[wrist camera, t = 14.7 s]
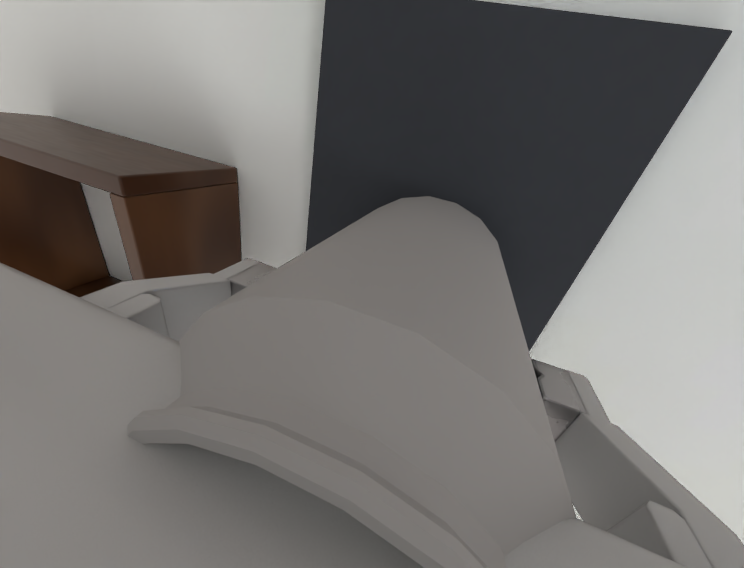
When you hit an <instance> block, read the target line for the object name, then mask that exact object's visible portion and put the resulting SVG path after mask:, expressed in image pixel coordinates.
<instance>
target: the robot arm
mask: <svg viewBox="0 0 744 568" xmlns="http://www.w3.org/2000/svg"><path fill="white" fill-rule="evenodd" d="M276 269H277V268H275V267H272V266H269V265H267V264H264V263H261V262H259V261H256V260H253V259H245V260H242V261H240V262H238V263H236V264H234V265H232V266H230V267H227V268H225V269H223V270H221V271H219V272H217V273H215V274H211V273H202V274H192V275H182V276H172V277H162V278H152V279H142V280H131V281H123V282H120V283H117V284H114V285H112V286H109V287H106V288H104V289H101V290H98V291H96V292H93V293H90V294H88V295H85V296H82V297H80V298H79V297H77V296H75V295H73V294H70V293H68V292H66V291H64V290H61V289H59V288H57V287H55V286H52V285H50V284H48V283H46V282H43V281H41V280H39V279H37V278H34V277H32V276H30V275H28V274H25V273H23V272H21V271H19V270H16V269H14V268H12V267H10V266H7V265H5V264H3V263H1V262H0V568H424V567H423V566H421V565H420V564H418V563H417V562H416V561H414V560H413V559H411V558H410V557H409V556H407V555H406V554H404V553H403V552H402V551H400V550H399V549H397V548H396V547H395V546H393V545H392V544H390V543H389V542H387V541H386V540H385V539H383V538H382V537H380V536H379V535H378V534H376V533H375V532H373V531H372V530H371V529H369V528H368V527H366V526H365V525H364V524H362V523H361V522H359V521H358V520H357V519H355V518H354V517H352V516H351V515H350V514H348V513H347V512H345V511H344V510H342V509H340V508H338V507H336V506H334V505H333V504H331V503H329V502H327V501H325V500H323V499H321V498H319V497H317V496H315V495H313V494H311V493H309V492H307V491H305V490H303V489H301V488H300V487H298V486H296V485H294V484H292V483H290V482H288V481H286V480H284V479H282V478H280V477H278V476H276V475H274V474H272V473H270V472H268V471H266V470H265V469H263V468H261V467H259V466H257V465H254V464H251V463H248V462H244V461H241V460H238V459H235V458H232V457H228V456H225V455H222V454H219V453H216V452H212V451H209V450H206V449H203V448H200V447H196V446H193V445H190V444H168V443H148V444H142V443H140V442H138V441H136V440H134V439H133V438H131V437H129V436H127V429H128V424H129V423H130V422H131V421H132V420H133V419H134V418H135V417H136V416H137V415H138V414H140V413H141V412H142V411H147V410H158V409H165V408H166V407H168V406H169V405H170V404H171V403H173V402H174V401H175V400H176V399H178V398H179V397H180V393H181V347H180V343H179V340H180V339H181V338H182V337H183V336H184V335H185V333H186V332H187V331H188V330H189V329H190V328H191V326H192V325H193V324H194V323H195V322H196V320H197V319H198V318H199V317H200V316H201V315H202V313H204V312H206V311H207V310H209V309H211V308H212V307H214V306H216V305H217V304H219V303H221V302H222V301H224V300H226V299H227V298H229V297H231V296H232V295H234V294H236V293H237V292H239V291H241V290H242V289H244V288H246V287H247V286H249V285H251V284H252V283H254V282H256V281H257V280H259V279H261V278H262V277H264V276H266V275H267V274H269V273H271V272H272V271H274V270H276ZM531 361H532V364H533V368H534V371H535V375H536V378H537V382H538V385H539V389H540V392H541V396H542V399H543V403H544V406H545V410H546V413H547V417H548V420H549V424H550V427H551V431H552V434H553V438H554V441H555V445H556V448H557V452H558V455H559V459H560V462H561V466H562V470H563V473H564V477H565V480H566V484H567V487H568V491H569V494H570V498H571V501H572V503H573V505H574V507H575V508H576V510H577V511H578V513H579V515H580V516H581V518H582V519H583V521H582V520H580V519H577V518H571V519H567V520H564V521H561V522H560V523H558V524H556V525H554V526H552V527H551V528H549V529H547V530H545V531H543V532H541V533H540V534H538V535H536V536H534V537H532V538H531V539H529V540H527V541H525V542H523V543H522V544H521V545H519V546H518V547H517V548H515V549H514V550H513V551H512V552H510V553H509V554H508V555H506V556H505V564H506V568H744V545H743V544H742V542H741V541H740V539H739V538H738V536H737V535H736V534H735V533H734V532H733V531H732V530H731V529H730V528H728V527H727V526H726V525H725V524H724V523H723V522H722V521H721V520H720V519H719V518H718V517H716V516H715V515H714V514H713V513H712V512H711V511H710V510H709V509H708V508H707V507H705V506H704V505H703V504H702V503H701V502H700V501H699V500H698V499H697V498H696V497H695V496H693V495H692V494H691V493H690V492H689V491H688V490H687V489H686V488H685V487H684V486H683V485H681V484H680V483H679V482H678V481H677V480H676V479H675V478H674V477H673V476H672V475H671V474H669V473H668V472H667V471H666V470H665V469H664V468H663V467H662V466H661V465H660V464H659V463H657V462H656V461H655V460H654V459H653V458H652V457H651V456H650V455H649V454H648V453H647V452H645V451H644V450H643V449H642V448H641V447H640V446H639V445H638V444H637V443H636V442H635V441H633V440H632V439H631V438H630V437H629V436H628V435H627V434H626V433H625V432H624V431H622V430H621V429H620V428H619V427H618V426H616V425H614V424H611V423H610V421H609V419H608V417H607V415H606V413H605V411H604V409H603V407H602V405H601V403H600V401H599V399H598V397H597V396H596V394H595V392H594V390H593V388H592V386H591V384H590V382H589V380H588V379H587V378H586V377H585V376H584V375H580V374H577V373H574V372H571V371H568V370H565V369H561V368H558V367H555V366H552V365H549V364H546V363H543V362H540V361H537V360H534V359H531Z"/></svg>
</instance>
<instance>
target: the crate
mask: <svg viewBox="0 0 744 568" xmlns="http://www.w3.org/2000/svg"><path fill="white" fill-rule="evenodd" d="M80 182H81V183H84V184H87V185H90V186H93V187H96V188H99V189H102V190H105V191H108V192H111V193H110V198H111V201H112V205H113V209H114V212H115V216H116V220H117V223H118V227H119V231H120V235H121V238H122V242H123V246H124V249H125V253H126V257H127V260H128V264H129V268H130V271H131V275H132V279H133V280H142V279H152V278H162V277H172V276H182V275H192V274H202V273H211V274H215V273H217V272H219V271H221V270H223V269H225V268H227V267H230V266H232V265H234V264H236V263H238V262H240V261H241V241H240V219H239V198H238V183H237V169H236V168H235V167H231V166H228V165H224V164H220V163H217V162H213V161H210V160H206V159H202V158H199V157H195V156H192V155H188V154H184V153H181V152H177V151H174V150H170V149H166V148H163V147H159V146H156V145H152V144H148V143H145V142H141V141H138V140H134V139H130V138H127V137H123V136H120V135H116V134H112V133H109V132H105V131H102V130H98V129H94V128H91V127H87V126H84V125H80V124H76V123H73V122H69V121H66V120H62V119H58V118H55V117H51V116H41V115H29V114H17V113H5V112H0V262H1V263H3V264H5V265H7V266H10V267H12V268H14V269H16V270H19V271H21V272H23V273H25V274H28V275H30V276H32V277H34V278H37V279H39V280H41V281H43V282H46V283H48V284H50V285H52V286H55V287H57V288H59V289H61V290H64V291H66V292H68V293H70V294H73V295H75V296H77V297H79V298H80V297H82V296H85V295H88V294H90V293H93V292H96V291H98V290H101V289H104V288H106V287H109V286H112V285H114V284H117V283H120V282H123V281H120V280H118V279H115V278H113V277H110V276H109V274H108V271H107V267H106V264H105V261H104V258H103V255H102V252H101V248H100V245H99V242H98V239H97V236H96V233H95V230H94V226H93V223H92V220H91V217H90V214H89V211H88V207H87V204H86V201H85V198H84V195H83V192H82V189H81V185H80Z"/></svg>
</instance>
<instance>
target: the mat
mask: <svg viewBox="0 0 744 568" xmlns="http://www.w3.org/2000/svg"><path fill="white" fill-rule="evenodd" d="M731 33H732V31H731V30H723V29H714V28H706V27H697V26H689V25H680V24H671V23H663V22H654V21H646V20H637V19H629V18H620V17H612V16H603V15H595V14H586V13H578V12H569V11H561V10H552V9H544V8H535V7H527V6H518V5H509V4H501V3H492V2H484V1H475V0H326V3H325V15H324V28H323V41H322V53H321V66H320V78H319V91H318V104H317V116H316V129H315V142H314V154H313V167H312V179H311V192H310V205H309V217H308V230H307V243H306V251H307V250H309V249H311V248H312V247H314V246H316V245H317V244H319V243H321V242H322V241H324V240H326V239H327V238H329V237H331V236H332V235H334V234H336V233H337V232H339V231H341V230H342V229H344V228H346V227H347V226H349V225H351V224H352V223H354V222H356V221H357V220H359V219H361V218H362V217H364V216H366V215H367V214H369V213H371V212H372V211H374V210H376V209H377V208H379V207H382V206H384V205H386V204H389V203H391V202H394V201H396V200H398V199H401V198H410V197H423V196H431V197H434V198H438V199H442V200H446V201H450V202H454V203H457V204H459V205H460V206H462V207H463V208H465V209H466V210H468V211H469V212H471V213H472V214H474V215H475V216H477V217H478V218H480V219H481V220H482V222H483V223H484V224H485V226H486V227H487V228H488V230H489V231H490V232H491V234H492V235H493V236H494V238H495V239H496V240H497V242H498V245H499V249H500V252H501V256H502V259H503V263H504V266H505V270H506V273H507V277H508V280H509V284H510V287H511V291H512V294H513V298H514V301H515V305H516V308H517V312H518V315H519V319H520V322H521V326H522V329H523V333H524V336H525V340H526V343H527V347H528V350H529V351H530V349H531V348H532V346H533V344H534V343H535V341H536V340H537V338H538V337H539V335H540V333H541V332H542V330H543V329H544V327H545V326H546V324H547V322H548V321H549V319H550V318H551V316H552V315H553V313H554V311H555V310H556V308H557V307H558V305H559V304H560V302H561V300H562V299H563V297H564V296H565V294H566V293H567V291H568V289H569V288H570V286H571V285H572V283H573V282H574V280H575V278H576V277H577V275H578V274H579V272H580V271H581V269H582V267H583V266H584V264H585V263H586V261H587V259H588V258H589V256H590V255H591V253H592V252H593V250H594V248H595V247H596V245H597V244H598V242H599V241H600V239H601V237H602V236H603V234H604V233H605V231H606V230H607V228H608V226H609V225H610V223H611V222H612V220H613V219H614V217H615V215H616V214H617V212H618V211H619V209H620V208H621V206H622V204H623V203H624V201H625V200H626V198H627V197H628V195H629V193H630V192H631V190H632V189H633V187H634V186H635V184H636V182H637V181H638V179H639V178H640V176H641V175H642V173H643V171H644V170H645V168H646V167H647V165H648V164H649V162H650V160H651V159H652V157H653V156H654V154H655V153H656V151H657V149H658V148H659V146H660V145H661V143H662V142H663V140H664V138H665V137H666V135H667V134H668V132H669V131H670V129H671V127H672V126H673V124H674V123H675V121H676V119H677V118H678V116H679V115H680V113H681V112H682V110H683V108H684V107H685V105H686V104H687V102H688V101H689V99H690V97H691V96H692V94H693V93H694V91H695V90H696V88H697V86H698V85H699V83H700V82H701V80H702V79H703V77H704V75H705V74H706V72H707V71H708V69H709V68H710V66H711V64H712V63H713V61H714V60H715V58H716V57H717V55H718V53H719V52H720V50H721V49H722V47H723V46H724V44H725V42H726V41H727V39H728V38H729V36H730V35H731Z"/></svg>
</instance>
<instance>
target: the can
mask: <svg viewBox="0 0 744 568" xmlns="http://www.w3.org/2000/svg"><path fill="white" fill-rule="evenodd" d="M179 343H180V347H181V393H180V397H179V398H178V399H176V400H175V401H174V402H173V403H171V404H170V405H169V406H168V407H166V408H165V409H158V410H147V411H142V412H141V413H140V414H138V415H137V416H136V417H135V418H134V419H133V420H132V421H131V422H130V423H129V424H128V429H127V436H129V437H131V438H133V439H134V440H136V441H138V442H140V443H142V444H148V443H168V444H190V445H193V446H196V447H200V448H203V449H206V450H209V451H212V452H216V453H219V454H222V455H225V456H228V457H232V458H235V459H238V460H241V461H244V462H248V463H251V464H254V465H257V466H259V467H261V468H263V469H265V470H266V471H268V472H270V473H272V474H274V475H276V476H278V477H280V478H282V479H284V480H286V481H288V482H290V483H292V484H294V485H296V486H298V487H300V488H301V489H303V490H305V491H307V492H309V493H311V494H313V495H315V496H317V497H319V498H321V499H323V500H325V501H327V502H329V503H331V504H333V505H334V506H336V507H338V508H340V509H342V510H344V511H345V512H347V513H348V514H350V515H351V516H352V517H354V518H355V519H357V520H358V521H359V522H361V523H362V524H364V525H365V526H366V527H368V528H369V529H371V530H372V531H373V532H375V533H376V534H378V535H379V536H380V537H382V538H383V539H385V540H386V541H387V542H389V543H390V544H392V545H393V546H395V547H396V548H397V549H399V550H400V551H402V552H403V553H404V554H406V555H407V556H409V557H410V558H411V559H413V560H414V561H416V562H417V563H418V564H420V565H421V566H423V567H424V568H506V564H505V556H506V555H508V554H509V553H510V552H512V551H513V550H514V549H515V548H517V547H518V546H519V545H521V544H522V543H523V542H525V541H527V540H529V539H531V538H532V537H534V536H536V535H538V534H540V533H541V532H543V531H545V530H547V529H549V528H551V527H552V526H554V525H556V524H558V523H560V522H561V521H564V520H567V519H571V518H576V515H575V512H574V508H573V505H572V501H571V498H570V494H569V491H568V487H567V484H566V480H565V477H564V473H563V470H562V466H561V462H560V459H559V455H558V452H557V448H556V445H555V441H554V438H553V434H552V431H551V427H550V424H549V420H548V417H547V413H546V410H545V406H544V403H543V399H542V396H541V392H540V389H539V385H538V382H537V378H536V375H535V371H534V368H533V364H532V361H531V357H530V354H529V350H528V347H527V343H526V340H525V336H524V333H523V329H522V326H521V322H520V319H519V315H518V312H517V308H516V305H515V301H514V298H513V294H512V291H511V287H510V284H509V280H508V277H507V273H506V270H505V266H504V263H503V259H502V256H501V252H500V249H499V245H498V242H497V240H496V239H495V238H494V236H493V235H492V234H491V232H490V231H489V230H488V228H487V227H486V226H485V224H484V223H483V222H482V220H481V219H480V218H478V217H477V216H475V215H474V214H472V213H471V212H469V211H468V210H466V209H465V208H463V207H462V206H460V205H459V204H457V203H454V202H450V201H446V200H442V199H438V198H434V197H431V196H423V197H410V198H401V199H398V200H396V201H394V202H391V203H389V204H386V205H384V206H382V207H379V208H377V209H376V210H374V211H372V212H371V213H369V214H367V215H366V216H364V217H362V218H361V219H359V220H357V221H356V222H354V223H352V224H351V225H349V226H347V227H346V228H344V229H342V230H341V231H339V232H337V233H336V234H334V235H332V236H331V237H329V238H327V239H326V240H324V241H322V242H321V243H319V244H317V245H316V246H314V247H312V248H311V249H309V250H307V251H306V252H304V253H302V254H301V255H299V256H297V257H296V258H294V259H292V260H291V261H289V262H287V263H286V264H284V265H282V266H281V267H279V268H277V269H276V270H274V271H272V272H271V273H269V274H267V275H266V276H264V277H262V278H261V279H259V280H257V281H256V282H254V283H252V284H251V285H249V286H247V287H246V288H244V289H242V290H241V291H239V292H237V293H236V294H234V295H232V296H231V297H229V298H227V299H226V300H224V301H222V302H221V303H219V304H217V305H216V306H214V307H212V308H211V309H209V310H207V311H206V312H204V313H202V315H201V316H200V317H199V318H198V319H197V320H196V322H195V323H194V324H193V325H192V326H191V328H190V329H189V330H188V331H187V332H186V333H185V335H184V336H183V337H182V338H181V339H180V340H179Z"/></svg>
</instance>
